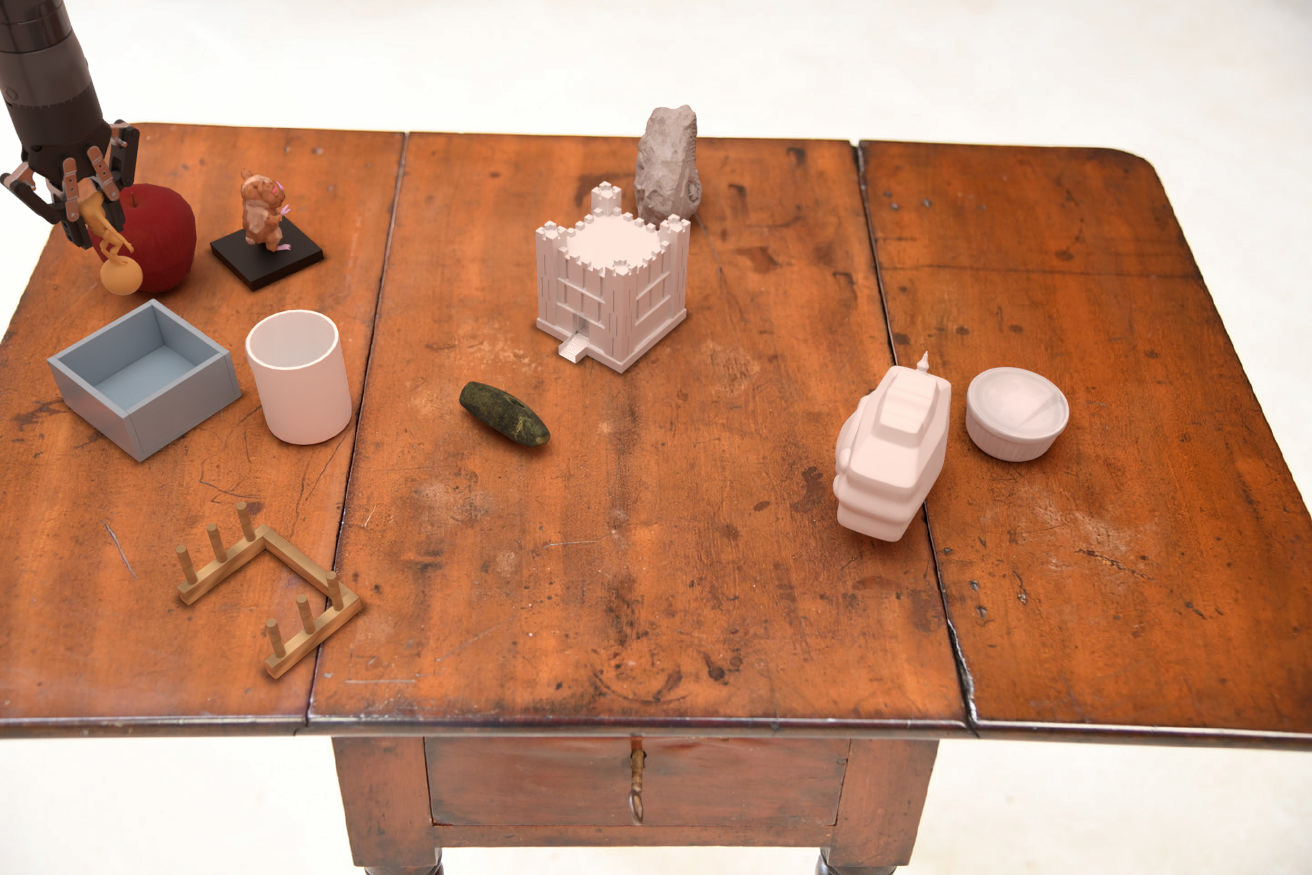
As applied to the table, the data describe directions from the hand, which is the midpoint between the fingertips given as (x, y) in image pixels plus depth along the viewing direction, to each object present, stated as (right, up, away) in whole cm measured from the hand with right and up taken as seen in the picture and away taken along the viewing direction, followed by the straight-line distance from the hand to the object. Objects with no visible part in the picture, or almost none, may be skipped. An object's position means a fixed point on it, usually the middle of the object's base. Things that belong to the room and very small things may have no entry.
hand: (99, 236), depth 124 cm
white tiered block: (+79, -26, +12) cm, 84 cm away
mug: (+15, -17, +17) cm, 29 cm away
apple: (-7, -1, +32) cm, 33 cm away
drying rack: (+17, -36, -1) cm, 40 cm away
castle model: (+49, -6, +29) cm, 57 cm away
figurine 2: (+6, +3, +36) cm, 37 cm away
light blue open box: (-2, -16, +18) cm, 24 cm away
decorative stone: (+38, -19, +17) cm, 46 cm away
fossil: (+56, +10, +46) cm, 73 cm away
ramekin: (+95, -20, +19) cm, 98 cm away
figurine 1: (-1, -5, +5) cm, 7 cm away
